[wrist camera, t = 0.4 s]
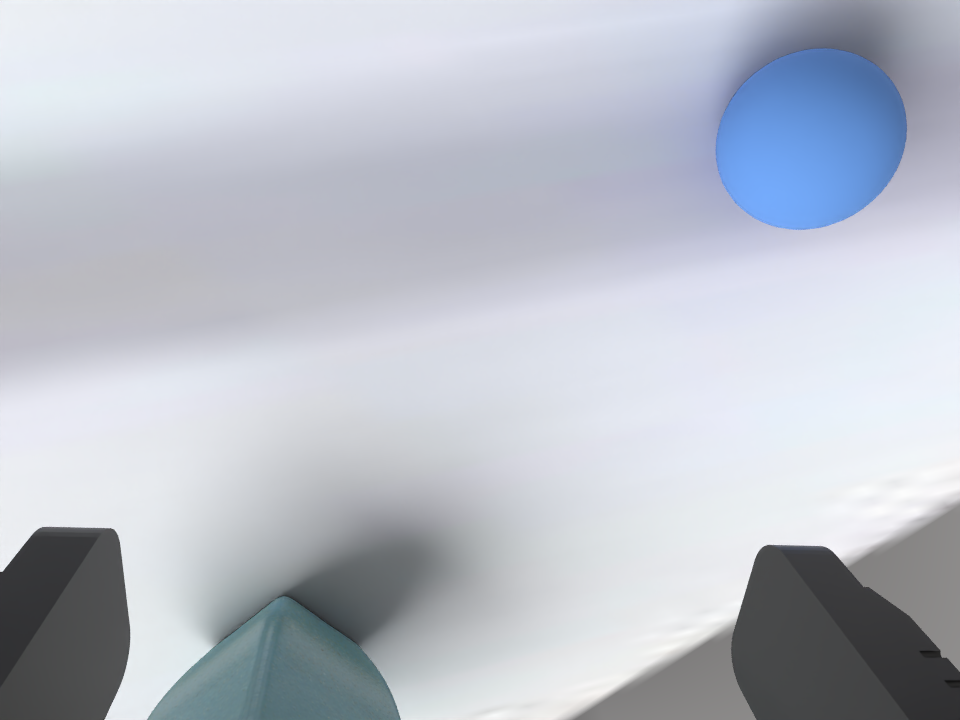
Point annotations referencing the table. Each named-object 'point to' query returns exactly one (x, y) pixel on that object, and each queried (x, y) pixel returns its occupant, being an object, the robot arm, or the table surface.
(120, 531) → the table surface
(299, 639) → the flower pot
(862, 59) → the ball
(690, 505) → the table surface
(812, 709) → the robot arm
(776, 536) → the table surface
